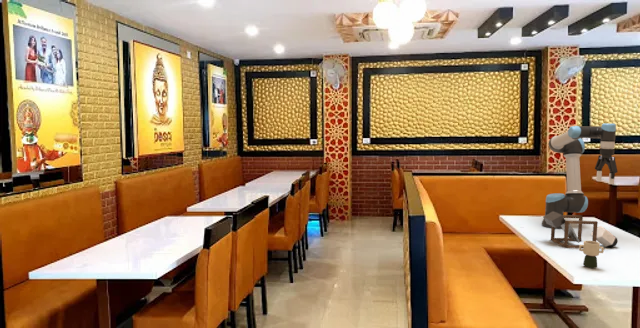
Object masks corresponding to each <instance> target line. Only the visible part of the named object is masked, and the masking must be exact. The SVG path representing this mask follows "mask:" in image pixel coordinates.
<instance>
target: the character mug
mask: <svg viewBox="0 0 640 328" xmlns="http://www.w3.org/2000/svg"><path fill="white" fill-rule="evenodd" d="M600 244H601V243H599V242H598V241H596V242H595V241H592V240H584V241H583V244H578V245H579V248H578V251H580V252H583V254H584V255H585V256H584V259H583V263H582V265H583V266H584V267H587V268H589V269H590V268H591V269H596V268H598V259H597V258H598V256H599V255H600V254H604V251H605V246H600ZM581 247H583V248H581ZM600 249H601V250H600Z"/></svg>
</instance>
